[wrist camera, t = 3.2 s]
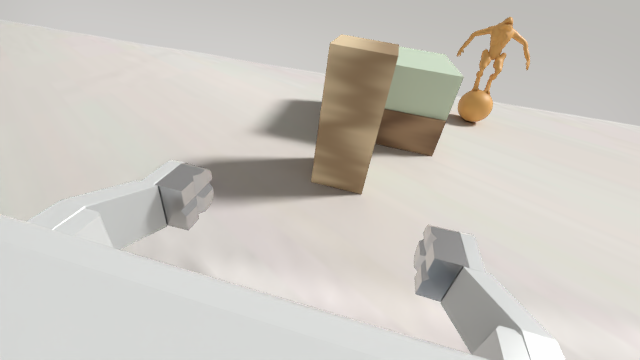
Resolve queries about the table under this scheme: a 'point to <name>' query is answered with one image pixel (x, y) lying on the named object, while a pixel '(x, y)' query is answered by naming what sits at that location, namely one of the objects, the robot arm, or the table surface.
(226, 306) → the robot arm
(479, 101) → the figurine
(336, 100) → the oak post
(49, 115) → the table surface
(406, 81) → the pale green square slab
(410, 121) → the tower base
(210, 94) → the table surface
